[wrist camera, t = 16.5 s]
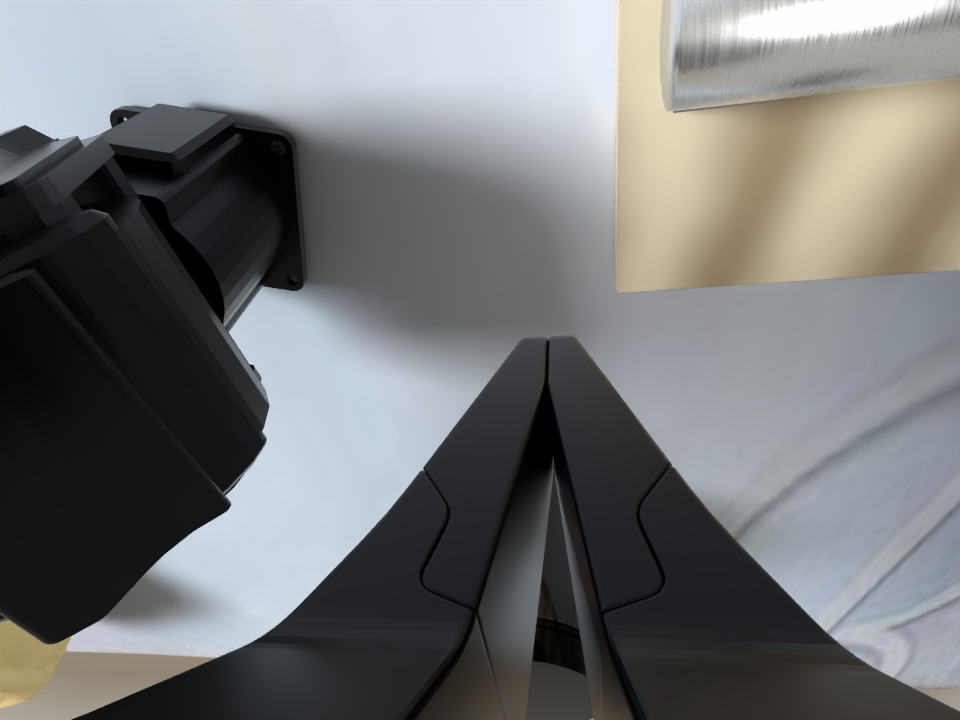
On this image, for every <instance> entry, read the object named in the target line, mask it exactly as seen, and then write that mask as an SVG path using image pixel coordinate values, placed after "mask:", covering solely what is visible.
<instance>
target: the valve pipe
mask: <svg viewBox="0 0 960 720" xmlns="http://www.w3.org/2000/svg"><path fill="white" fill-rule="evenodd" d="M951 79H960V0H663V3H662V12H661V24H660V82H661V92H662V98H663V103H664V107H665V109H666V111H668V112H671V111H673V113H679V112H688V111H697V110H705V109H714V108H723V107H732V106H741V105H749V104H758V103H767V102H776V101H781V100H782V99H785V98H793V97H802V96H811V95H820V94H828V93H837V92H846V91H855V90H863V89H872V88H881V87H890V86H898V85H907V84H916V83H925V82H933V81H942V80H951Z"/></svg>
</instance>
